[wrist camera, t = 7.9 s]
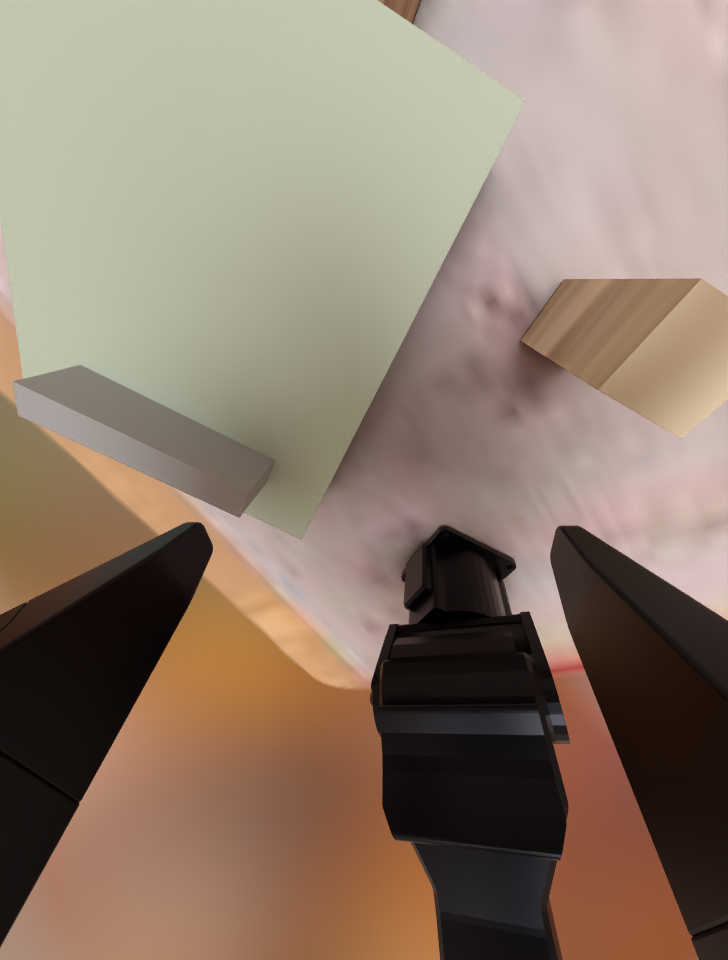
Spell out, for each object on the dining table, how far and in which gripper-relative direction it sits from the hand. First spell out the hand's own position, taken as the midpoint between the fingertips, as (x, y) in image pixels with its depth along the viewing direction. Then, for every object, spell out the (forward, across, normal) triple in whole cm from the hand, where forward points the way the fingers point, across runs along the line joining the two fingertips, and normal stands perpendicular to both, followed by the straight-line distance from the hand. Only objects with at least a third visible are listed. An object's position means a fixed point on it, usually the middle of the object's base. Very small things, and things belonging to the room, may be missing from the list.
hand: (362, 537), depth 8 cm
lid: (+8, +7, -6) cm, 13 cm away
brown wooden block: (+13, -8, -3) cm, 16 cm away
